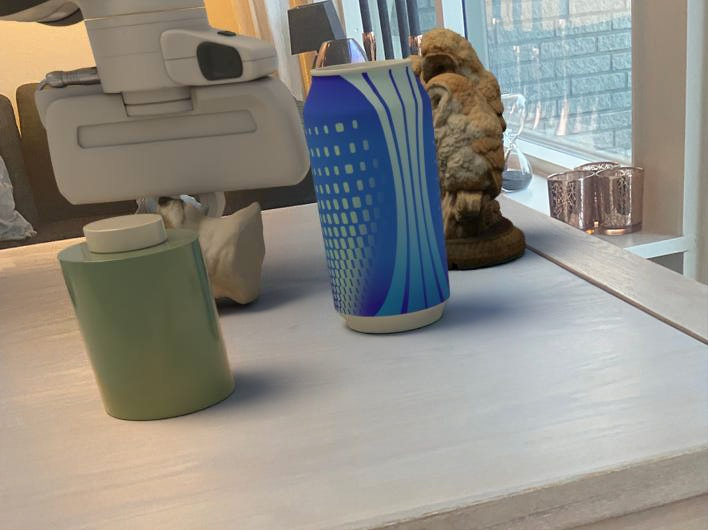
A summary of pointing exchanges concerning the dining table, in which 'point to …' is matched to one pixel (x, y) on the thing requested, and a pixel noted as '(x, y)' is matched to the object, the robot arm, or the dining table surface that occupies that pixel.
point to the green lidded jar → (147, 317)
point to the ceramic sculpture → (224, 245)
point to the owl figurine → (467, 150)
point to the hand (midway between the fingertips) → (203, 252)
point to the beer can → (378, 194)
